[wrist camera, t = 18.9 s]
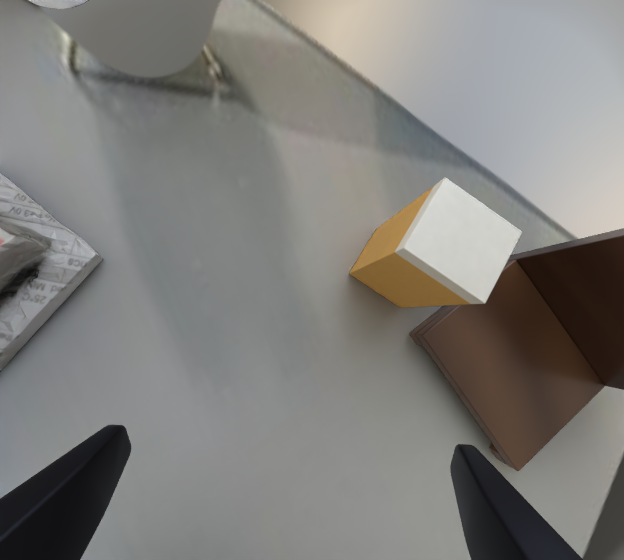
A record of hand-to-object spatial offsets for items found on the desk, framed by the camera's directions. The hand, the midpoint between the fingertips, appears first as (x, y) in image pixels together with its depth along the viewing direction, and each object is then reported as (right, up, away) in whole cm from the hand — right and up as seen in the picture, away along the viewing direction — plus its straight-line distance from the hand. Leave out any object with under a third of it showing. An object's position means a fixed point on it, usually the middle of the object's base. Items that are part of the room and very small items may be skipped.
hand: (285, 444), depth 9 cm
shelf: (+15, -1, +15) cm, 21 cm away
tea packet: (+6, +5, +15) cm, 17 cm away
